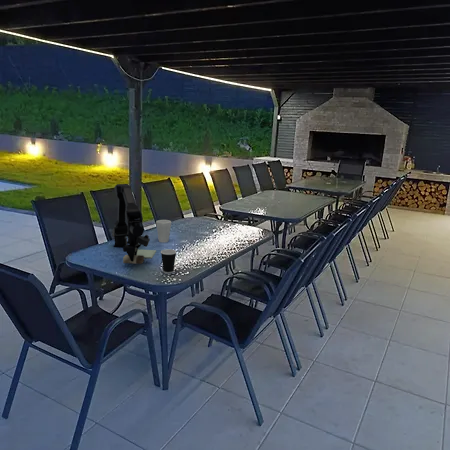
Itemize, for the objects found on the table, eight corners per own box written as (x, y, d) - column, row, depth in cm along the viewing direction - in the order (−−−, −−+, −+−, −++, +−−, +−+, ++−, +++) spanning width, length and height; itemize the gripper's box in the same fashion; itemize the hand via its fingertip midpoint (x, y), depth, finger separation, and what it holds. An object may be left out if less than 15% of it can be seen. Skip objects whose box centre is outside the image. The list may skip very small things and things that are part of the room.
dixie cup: (178, 274, 200) (178, 253, 197) (162, 275, 197) (162, 254, 194) (173, 268, 207) (173, 248, 204) (158, 270, 204) (158, 249, 201)
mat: (128, 257, 221) (128, 256, 221) (134, 250, 234) (134, 249, 233) (151, 258, 221) (151, 257, 221) (156, 251, 234) (156, 250, 233)
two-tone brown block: (123, 263, 212) (123, 257, 212) (125, 260, 217) (125, 254, 216) (141, 263, 212) (141, 258, 211) (143, 260, 217) (143, 255, 216)
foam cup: (158, 243, 249) (158, 223, 246) (154, 239, 257) (154, 220, 254) (173, 242, 254) (173, 222, 250) (168, 238, 261) (168, 219, 258)
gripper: (144, 237, 201) (144, 266, 205) (151, 228, 220) (151, 255, 223) (122, 236, 202) (123, 265, 205) (131, 227, 220) (132, 254, 223)
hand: (133, 259), depth 214 cm, fingers closed on two-tone brown block, 5 cm apart
